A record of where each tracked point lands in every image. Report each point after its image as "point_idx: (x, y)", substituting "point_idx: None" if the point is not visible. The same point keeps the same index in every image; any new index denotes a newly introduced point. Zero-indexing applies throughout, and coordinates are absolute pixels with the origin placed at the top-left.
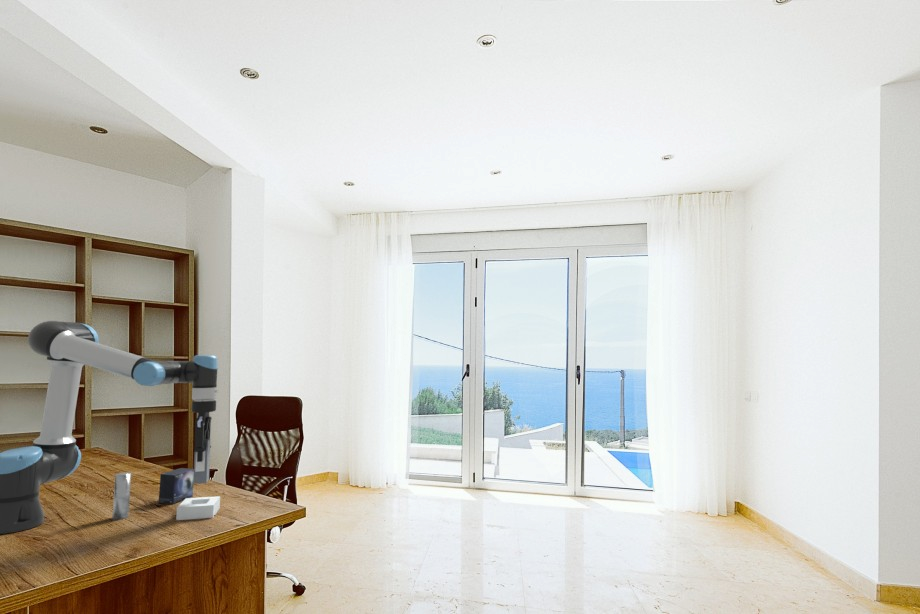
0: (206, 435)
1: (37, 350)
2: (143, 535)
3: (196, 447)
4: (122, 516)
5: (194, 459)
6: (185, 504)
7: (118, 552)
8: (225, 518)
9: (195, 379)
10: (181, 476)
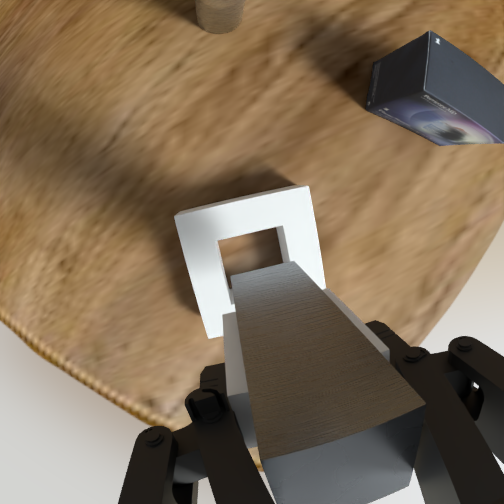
0: (427, 494)
1: None
2: (48, 192)
3: (154, 459)
4: (202, 25)
5: (241, 338)
6: (216, 229)
7: None
8: (203, 356)
9: None
10: (446, 112)
